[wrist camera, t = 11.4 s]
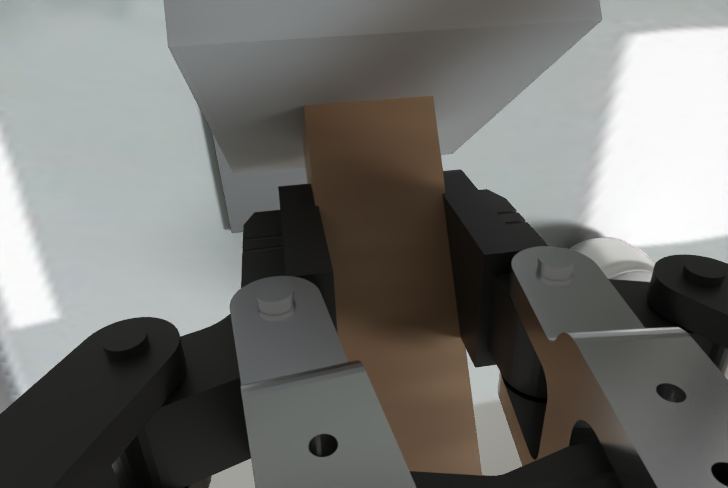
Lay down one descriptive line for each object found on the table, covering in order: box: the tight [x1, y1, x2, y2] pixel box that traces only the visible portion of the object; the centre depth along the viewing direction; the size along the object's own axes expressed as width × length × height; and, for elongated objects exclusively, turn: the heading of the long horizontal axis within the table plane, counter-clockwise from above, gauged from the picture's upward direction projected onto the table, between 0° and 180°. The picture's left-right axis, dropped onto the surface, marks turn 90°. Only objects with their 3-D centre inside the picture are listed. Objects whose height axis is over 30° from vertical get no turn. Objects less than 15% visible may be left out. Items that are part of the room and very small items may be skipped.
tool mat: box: [212, 133, 307, 233], centre depth 31 cm, size 10×10×1 cm
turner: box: [164, 0, 602, 475], centre depth 12 cm, size 6×8×9 cm
